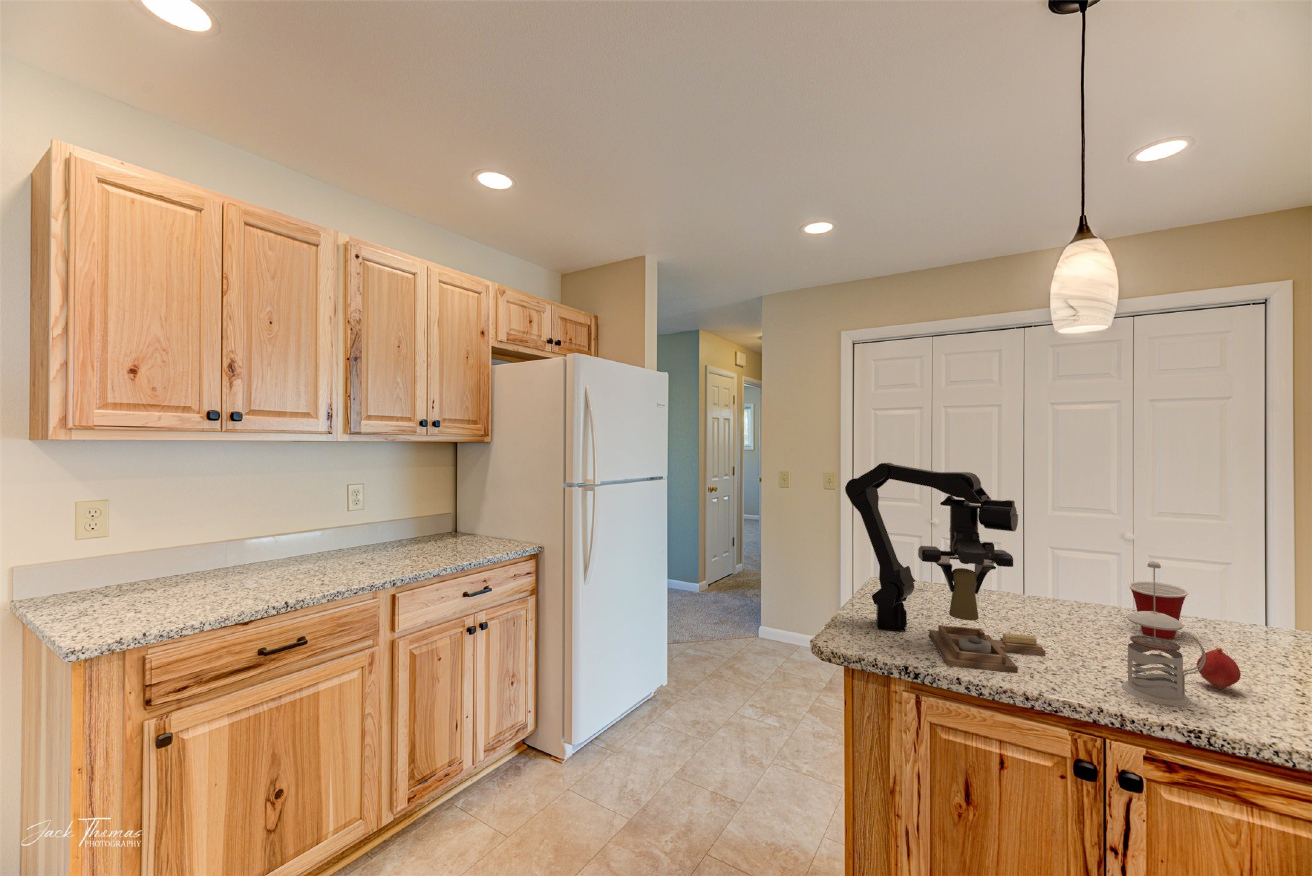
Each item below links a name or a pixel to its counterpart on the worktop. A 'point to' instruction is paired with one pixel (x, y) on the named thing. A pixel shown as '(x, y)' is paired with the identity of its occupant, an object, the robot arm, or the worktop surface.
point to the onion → (1219, 669)
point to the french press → (1157, 659)
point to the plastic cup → (1158, 603)
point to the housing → (978, 649)
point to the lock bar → (1019, 639)
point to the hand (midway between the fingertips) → (963, 592)
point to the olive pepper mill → (964, 595)
